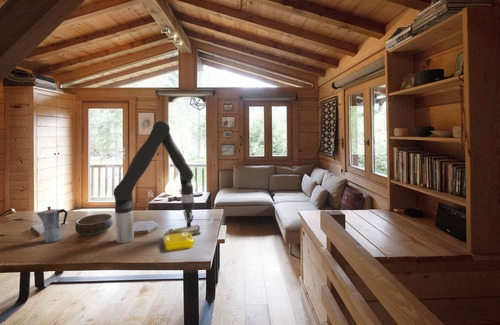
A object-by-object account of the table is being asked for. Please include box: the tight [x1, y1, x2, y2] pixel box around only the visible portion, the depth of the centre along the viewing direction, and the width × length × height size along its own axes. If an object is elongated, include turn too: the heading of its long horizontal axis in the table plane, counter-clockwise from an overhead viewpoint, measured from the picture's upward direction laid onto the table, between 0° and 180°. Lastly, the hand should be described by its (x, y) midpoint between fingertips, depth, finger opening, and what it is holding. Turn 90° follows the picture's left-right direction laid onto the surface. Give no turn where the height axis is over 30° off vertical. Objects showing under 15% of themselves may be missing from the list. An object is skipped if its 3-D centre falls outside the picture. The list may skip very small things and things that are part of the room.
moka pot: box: [36, 206, 68, 244], centre depth 163 cm, size 10×15×20 cm, turn 111°
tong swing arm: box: [174, 224, 199, 230], centre depth 173 cm, size 15×2×2 cm, turn 121°
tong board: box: [165, 230, 201, 237], centre depth 173 cm, size 18×12×2 cm, turn 120°
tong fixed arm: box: [168, 225, 200, 234], centre depth 172 cm, size 19×4×3 cm, turn 120°
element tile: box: [163, 232, 195, 252], centre depth 156 cm, size 15×15×5 cm
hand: (188, 227), depth 176 cm, fingers closed
